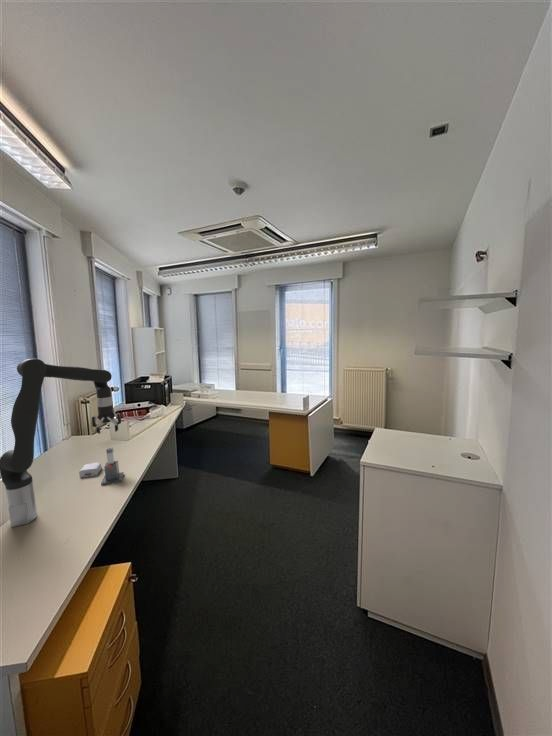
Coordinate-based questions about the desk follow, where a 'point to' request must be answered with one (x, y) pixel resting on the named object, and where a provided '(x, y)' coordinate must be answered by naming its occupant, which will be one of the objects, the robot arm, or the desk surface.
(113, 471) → the stand
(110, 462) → the column
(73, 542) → the desk surface
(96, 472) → the charger
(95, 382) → the robot arm
